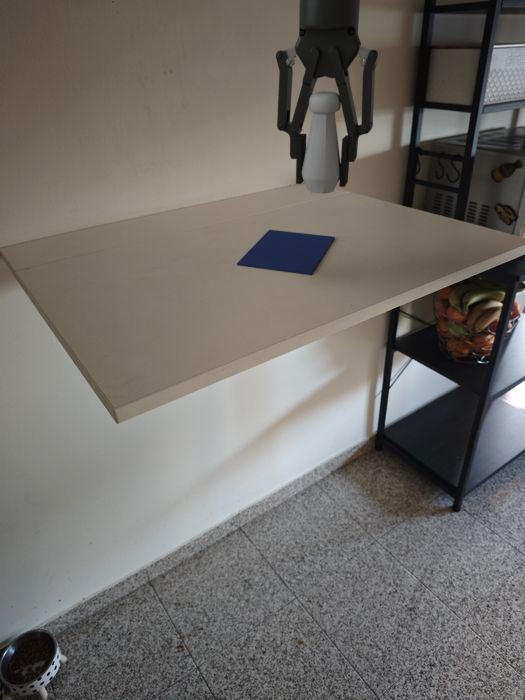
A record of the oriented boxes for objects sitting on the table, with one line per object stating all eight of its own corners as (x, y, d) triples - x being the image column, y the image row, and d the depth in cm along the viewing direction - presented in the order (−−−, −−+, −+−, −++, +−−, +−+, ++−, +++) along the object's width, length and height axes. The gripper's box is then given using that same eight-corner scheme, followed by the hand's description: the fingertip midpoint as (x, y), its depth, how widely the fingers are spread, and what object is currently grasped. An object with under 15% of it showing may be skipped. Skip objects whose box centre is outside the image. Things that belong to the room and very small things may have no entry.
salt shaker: (309, 197, 71) (312, 95, 64) (295, 186, 76) (297, 91, 69) (346, 192, 73) (353, 93, 66) (331, 183, 77) (336, 89, 70)
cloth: (334, 238, 100) (335, 236, 100) (311, 275, 86) (311, 272, 86) (269, 231, 104) (269, 229, 104) (236, 265, 90) (236, 263, 90)
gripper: (248, -6, 61) (254, 185, 74) (405, -13, 56) (382, 194, 69) (267, -4, 67) (269, 173, 80) (410, -10, 62) (388, 180, 75)
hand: (321, 182), depth 74 cm, fingers closed on salt shaker, 6 cm apart
